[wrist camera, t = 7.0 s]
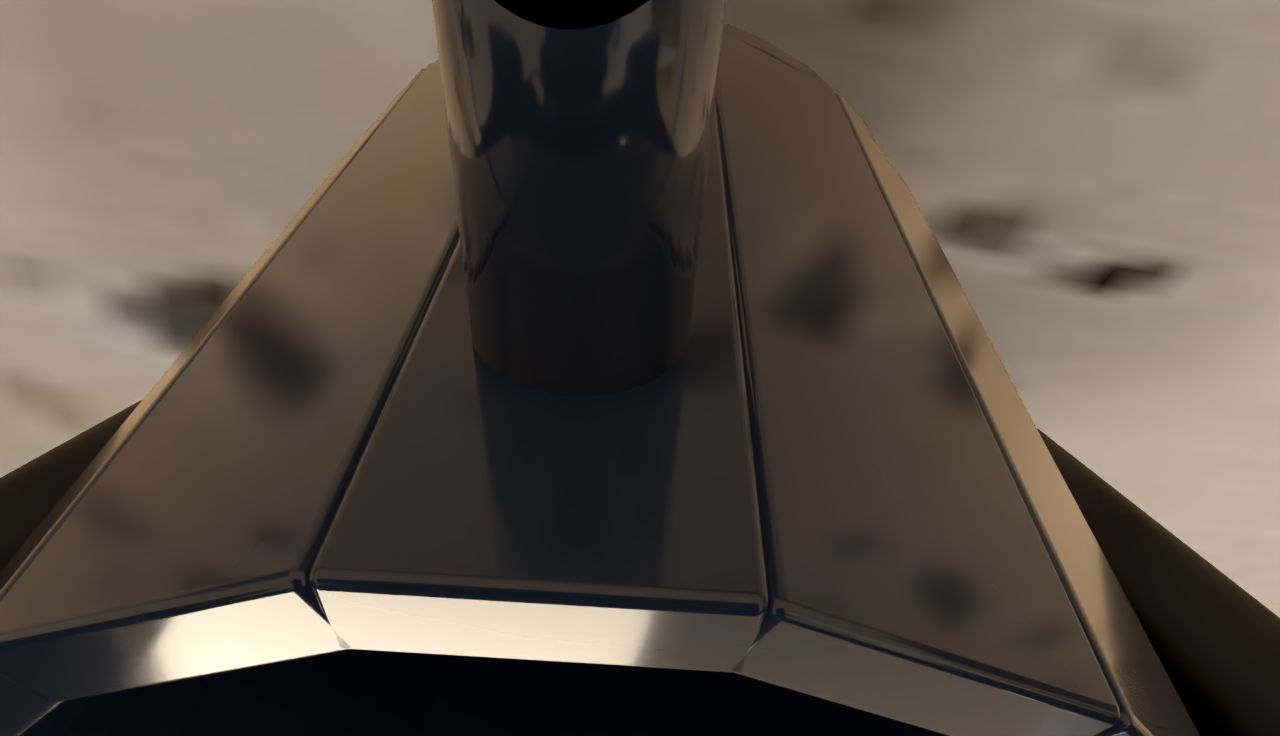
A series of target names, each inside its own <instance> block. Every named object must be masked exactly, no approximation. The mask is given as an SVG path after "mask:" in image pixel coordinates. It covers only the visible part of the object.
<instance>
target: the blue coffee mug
mask: <svg viewBox="0 0 1280 736" xmlns="http://www.w3.org/2000/svg"><path fill="white" fill-rule="evenodd" d="M432 3H433V11H434V20H435V28H436V37H437V45H438V54H439V60H437V61H436V62H434V63H431V64H429V65H428V66H427V68H425V69H422V70H421V71H420V72H419V73H418V74H417V75H416V76H415V77H414V79H413V80H412V81H411V82H410V83H409V84H408V85H407V86H406V87H405V88H404V89H403V90H402V91H401V92H400V93H399V94H398V95H397V96H396V97H395V98H394V100H393V101H392V102H391V103H390V105H389V106H388V107H387V108H386V109H385V111H384V112H383V113H382V114H381V115H380V116H379V118H378V119H377V120H376V121H375V122H374V123H373V124H372V125H371V126H370V128H369V129H368V130H367V131H366V132H365V133H364V134H363V135H362V137H361V138H360V139H359V140H358V141H357V142H356V143H355V144H354V145H353V147H352V148H351V149H350V150H349V151H348V152H347V153H346V154H345V156H344V157H343V158H342V159H341V160H340V162H339V163H338V164H337V165H336V166H335V168H334V169H333V170H332V171H331V173H330V174H329V175H328V176H327V177H326V179H325V180H324V181H323V182H322V183H321V185H320V186H319V187H318V188H317V189H316V191H315V192H314V193H313V194H312V196H311V197H310V198H309V199H308V200H307V202H306V203H305V204H304V205H303V206H302V208H301V209H300V210H299V211H298V212H297V214H296V215H295V216H294V217H293V218H292V220H291V221H290V222H289V223H288V225H287V226H286V227H285V228H284V229H283V231H282V232H281V233H280V234H279V235H278V237H277V238H276V239H275V240H274V241H273V243H272V244H271V245H270V246H269V248H268V249H267V250H266V251H265V252H264V254H263V255H262V256H261V257H260V258H259V260H258V261H257V262H256V263H255V264H254V266H253V267H252V268H251V269H250V270H249V272H248V273H247V274H246V275H245V277H244V278H243V279H242V280H241V281H240V283H239V284H238V285H237V286H236V287H235V289H234V290H233V291H232V292H231V293H230V295H229V296H228V297H227V298H226V300H225V301H224V302H223V303H222V304H221V306H220V307H219V308H218V309H217V310H216V312H215V313H214V314H213V315H212V316H211V318H210V319H209V320H208V321H207V323H206V324H205V325H204V326H203V327H202V329H201V330H200V331H199V332H198V333H197V335H196V336H195V337H194V338H193V339H192V341H191V342H190V343H189V344H188V345H187V347H186V348H185V349H184V350H183V352H182V353H181V354H180V355H179V356H178V358H177V359H176V360H175V361H174V362H173V364H172V365H171V366H170V367H169V368H168V370H167V371H166V372H165V373H164V375H163V376H162V377H161V378H160V379H159V381H158V382H157V383H156V384H155V385H154V387H153V388H152V389H151V390H150V391H149V393H148V394H147V395H146V396H145V397H144V399H143V400H142V401H141V402H140V404H139V405H138V406H137V407H136V408H135V410H134V411H133V412H132V413H131V414H130V416H129V417H128V418H127V419H126V420H125V422H124V423H123V424H122V425H121V427H120V428H119V429H118V430H117V431H116V433H115V434H114V435H113V436H112V437H111V439H110V440H109V441H108V442H107V443H106V445H105V446H104V447H103V448H102V449H101V451H100V452H99V453H98V454H97V456H96V457H95V458H94V459H93V460H92V462H91V463H90V464H89V465H88V466H87V468H86V469H85V470H84V471H83V472H82V474H81V475H80V476H79V477H78V479H77V480H76V481H75V482H74V483H73V485H72V486H71V487H70V488H69V489H68V491H67V492H66V493H65V494H64V495H63V497H62V498H61V499H60V500H59V501H58V503H57V504H56V505H55V506H54V508H53V509H52V510H51V511H50V512H49V514H48V515H47V516H46V517H45V518H44V520H43V521H42V522H41V523H40V524H39V526H38V527H37V528H36V529H35V531H34V532H33V533H32V534H31V535H30V537H29V538H28V539H27V540H26V541H25V543H24V544H23V545H22V546H21V547H20V549H19V550H18V551H17V552H16V553H15V555H14V556H13V557H12V558H11V560H10V561H9V562H8V563H7V564H6V566H5V567H4V568H3V569H2V570H1V572H0V736H1200V735H1199V733H1198V731H1197V729H1196V727H1195V725H1194V723H1193V721H1192V720H1191V718H1190V716H1189V714H1188V712H1187V710H1186V708H1185V706H1184V705H1183V703H1182V701H1181V699H1180V697H1179V695H1178V693H1177V691H1176V689H1175V688H1174V686H1173V684H1172V682H1171V680H1170V678H1169V676H1168V674H1167V673H1166V671H1165V669H1164V667H1163V665H1162V663H1161V661H1160V659H1159V657H1158V656H1157V654H1156V652H1155V650H1154V648H1153V646H1152V644H1151V642H1150V641H1149V639H1148V637H1147V635H1146V633H1145V631H1144V629H1143V627H1142V625H1141V624H1140V622H1139V620H1138V618H1137V616H1136V614H1135V612H1134V610H1133V609H1132V607H1131V605H1130V603H1129V601H1128V599H1127V597H1126V595H1125V593H1124V592H1123V590H1122V588H1121V586H1120V584H1119V582H1118V580H1117V578H1116V577H1115V575H1114V573H1113V571H1112V569H1111V567H1110V565H1109V563H1108V561H1107V560H1106V558H1105V556H1104V554H1103V552H1102V550H1101V548H1100V546H1099V545H1098V543H1097V541H1096V539H1095V537H1094V535H1093V533H1092V531H1091V530H1090V528H1089V526H1088V524H1087V522H1086V520H1085V518H1084V516H1083V514H1082V513H1081V511H1080V509H1079V507H1078V505H1077V503H1076V501H1075V499H1074V498H1073V496H1072V494H1071V492H1070V490H1069V488H1068V486H1067V484H1066V482H1065V481H1064V479H1063V477H1062V475H1061V473H1060V471H1059V469H1058V467H1057V466H1056V464H1055V462H1054V460H1053V458H1052V456H1051V454H1050V452H1049V450H1048V449H1047V447H1046V445H1045V443H1044V441H1043V439H1042V437H1041V435H1040V434H1039V432H1038V430H1037V428H1036V426H1035V424H1034V422H1033V420H1032V418H1031V417H1030V415H1029V413H1028V411H1027V409H1026V407H1025V405H1024V403H1023V402H1022V400H1021V398H1020V396H1019V394H1018V392H1017V390H1016V388H1015V386H1014V385H1013V383H1012V381H1011V379H1010V377H1009V375H1008V373H1007V371H1006V370H1005V368H1004V366H1003V364H1002V362H1001V360H1000V358H999V356H998V354H997V353H996V351H995V349H994V347H993V345H992V343H991V341H990V339H989V338H988V336H987V334H986V332H985V330H984V328H983V326H982V324H981V322H980V321H979V319H978V317H977V315H976V313H975V311H974V309H973V307H972V306H971V304H970V302H969V300H968V298H967V296H966V294H965V292H964V291H963V289H962V287H961V285H960V283H959V281H958V279H957V277H956V275H955V274H954V272H953V270H952V268H951V266H950V264H949V262H948V260H947V259H946V257H945V255H944V253H943V251H942V249H941V247H940V245H939V243H938V242H937V240H936V238H935V236H934V234H933V232H932V230H931V228H930V227H929V225H928V223H927V221H926V219H925V217H924V215H923V213H922V211H921V210H920V208H919V206H918V204H917V202H916V200H915V198H914V196H913V195H912V193H911V191H910V189H909V187H908V186H907V185H906V183H905V182H904V181H903V179H902V178H901V176H900V175H899V174H898V172H897V171H896V170H895V168H894V167H893V166H892V164H891V163H890V162H889V160H888V159H887V157H886V155H885V154H884V152H883V150H882V149H881V147H880V146H879V144H878V142H877V141H876V139H875V138H874V136H873V134H872V133H871V131H870V130H869V128H868V126H867V125H866V123H865V122H864V121H863V120H862V119H861V118H860V116H859V115H858V114H857V113H856V112H855V111H854V110H853V108H852V107H851V106H850V105H849V104H848V103H847V101H846V100H845V99H844V98H843V97H842V96H841V95H840V93H838V92H837V91H836V90H835V89H834V88H833V87H831V86H830V85H829V84H828V83H827V82H826V81H824V80H823V79H822V78H821V77H820V76H819V75H817V74H816V73H815V72H814V71H813V70H811V69H810V68H809V67H808V66H807V65H805V64H803V63H802V62H800V61H799V60H797V59H795V58H794V57H792V56H791V55H789V54H787V53H786V52H784V51H783V50H781V49H779V48H778V47H776V46H775V45H773V44H771V43H770V42H768V41H765V40H763V39H761V38H759V37H756V36H754V35H752V34H749V33H747V32H745V31H743V30H740V29H738V28H736V27H733V26H731V25H729V24H726V23H724V15H725V6H726V0H432Z"/></svg>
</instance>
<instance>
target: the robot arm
mask: <svg viewBox="0 0 1280 736" xmlns="http://www.w3.org/2000/svg"><path fill="white" fill-rule="evenodd" d="M141 401H142V400H141ZM141 401H139V402H137V403H135V404H134V405H132V406H130V407H128V408H126V409H124V410H123V411H121V412H119V413H117V414H115V415H114V416H112V417H110V418H108V419H106V420H105V421H103V422H101V423H99V424H97V425H96V426H94V427H92V428H90V429H88V430H86V431H85V432H83V433H81V434H79V435H77V436H76V437H74V438H72V439H70V440H68V441H67V442H65V443H63V444H61V445H59V446H58V447H56V448H54V449H52V450H50V451H49V452H47V453H45V454H43V455H41V456H39V457H38V458H36V459H34V460H32V461H30V462H29V463H27V464H25V465H23V466H21V467H20V468H18V469H16V470H14V471H12V472H11V473H9V474H7V475H5V476H3V477H1V478H0V572H1V570H2V569H3V568H4V567H5V566H6V564H7V563H8V562H9V561H10V560H11V558H12V557H13V556H14V555H15V553H16V552H17V551H18V550H19V549H20V547H21V546H22V545H23V544H24V543H25V541H26V540H27V539H28V538H29V537H30V535H31V534H32V533H33V532H34V531H35V529H36V528H37V527H38V526H39V524H40V523H41V522H42V521H43V520H44V518H45V517H46V516H47V515H48V514H49V512H50V511H51V510H52V509H53V508H54V506H55V505H56V504H57V503H58V501H59V500H60V499H61V498H62V497H63V495H64V494H65V493H66V492H67V491H68V489H69V488H70V487H71V486H72V485H73V483H74V482H75V481H76V480H77V479H78V477H79V476H80V475H81V474H82V472H83V471H84V470H85V469H86V468H87V466H88V465H89V464H90V463H91V462H92V460H93V459H94V458H95V457H96V456H97V454H98V453H99V452H100V451H101V449H102V448H103V447H104V446H105V445H106V443H107V442H108V441H109V440H110V439H111V437H112V436H113V435H114V434H115V433H116V431H117V430H118V429H119V428H120V427H121V425H122V424H123V423H124V422H125V420H126V419H127V418H128V417H129V416H130V414H131V413H132V412H133V411H134V410H135V408H136V407H137V406H138V405H139V404H140V402H141ZM1037 430H1038V432H1039V434H1040V435H1041V437H1042V439H1043V441H1044V443H1045V445H1046V447H1047V449H1048V450H1049V452H1050V454H1051V456H1052V458H1053V460H1054V462H1055V464H1056V466H1057V467H1058V469H1059V471H1060V473H1061V475H1062V477H1063V479H1064V481H1065V482H1066V484H1067V486H1068V488H1069V490H1070V492H1071V494H1072V496H1073V498H1074V499H1075V501H1076V503H1077V505H1078V507H1079V509H1080V511H1081V513H1082V514H1083V516H1084V518H1085V520H1086V522H1087V524H1088V526H1089V528H1090V530H1091V531H1092V533H1093V535H1094V537H1095V539H1096V541H1097V543H1098V545H1099V546H1100V548H1101V550H1102V552H1103V554H1104V556H1105V558H1106V560H1107V561H1108V563H1109V565H1110V567H1111V569H1112V571H1113V573H1114V575H1115V577H1116V578H1117V580H1118V582H1119V584H1120V586H1121V588H1122V590H1123V592H1124V593H1125V595H1126V597H1127V599H1128V601H1129V603H1130V605H1131V607H1132V609H1133V610H1134V612H1135V614H1136V616H1137V618H1138V620H1139V622H1140V624H1141V625H1142V627H1143V629H1144V631H1145V633H1146V635H1147V637H1148V639H1149V641H1150V642H1151V644H1152V646H1153V648H1154V650H1155V652H1156V654H1157V656H1158V657H1159V659H1160V661H1161V663H1162V665H1163V667H1164V669H1165V671H1166V673H1167V674H1168V676H1169V678H1170V680H1171V682H1172V684H1173V686H1174V688H1175V689H1176V691H1177V693H1178V695H1179V697H1180V699H1181V701H1182V703H1183V705H1184V706H1185V708H1186V710H1187V712H1188V714H1189V716H1190V718H1191V720H1192V721H1193V723H1194V725H1195V727H1196V729H1197V731H1198V733H1199V735H1200V736H1280V618H1279V617H1278V616H1277V615H1275V614H1274V613H1273V612H1271V611H1270V610H1269V609H1268V608H1266V607H1265V606H1264V605H1262V604H1261V603H1260V602H1259V601H1257V600H1256V599H1255V598H1254V597H1252V596H1251V595H1250V594H1248V593H1247V592H1246V591H1245V590H1243V589H1242V588H1241V587H1239V586H1238V585H1237V584H1236V583H1234V582H1233V581H1232V580H1231V579H1229V578H1228V577H1227V576H1225V575H1224V574H1223V573H1222V572H1220V571H1219V570H1218V569H1216V568H1215V567H1214V566H1213V565H1211V564H1210V563H1209V562H1208V561H1206V560H1205V559H1204V558H1202V557H1201V556H1200V555H1199V554H1197V553H1196V552H1195V551H1193V550H1192V549H1191V548H1190V547H1188V546H1187V545H1186V544H1185V543H1183V542H1182V541H1181V540H1179V539H1178V538H1177V537H1176V536H1174V535H1173V534H1172V533H1170V532H1169V531H1168V530H1167V529H1165V528H1164V527H1163V526H1162V525H1160V524H1159V523H1158V522H1156V521H1155V520H1154V519H1153V518H1151V517H1150V516H1149V515H1147V514H1146V513H1145V512H1144V511H1142V510H1141V509H1140V508H1139V507H1137V506H1136V505H1135V504H1133V503H1132V502H1131V501H1130V500H1128V499H1127V498H1126V497H1124V496H1123V495H1122V494H1121V493H1119V492H1118V491H1117V490H1116V489H1114V488H1113V487H1112V486H1110V485H1109V484H1108V483H1107V482H1105V481H1104V480H1103V479H1101V478H1100V477H1099V476H1098V475H1096V474H1095V473H1094V472H1093V471H1091V470H1090V469H1089V468H1087V467H1086V466H1085V465H1084V464H1082V463H1081V462H1080V461H1078V460H1077V459H1076V458H1075V457H1073V456H1072V455H1071V454H1070V453H1068V452H1067V451H1066V450H1064V449H1063V448H1062V447H1061V446H1059V445H1058V444H1057V443H1055V442H1054V441H1053V440H1052V439H1050V438H1049V437H1048V436H1047V435H1045V434H1044V433H1043V432H1041V431H1040V430H1039V429H1038V428H1037Z"/></svg>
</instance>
